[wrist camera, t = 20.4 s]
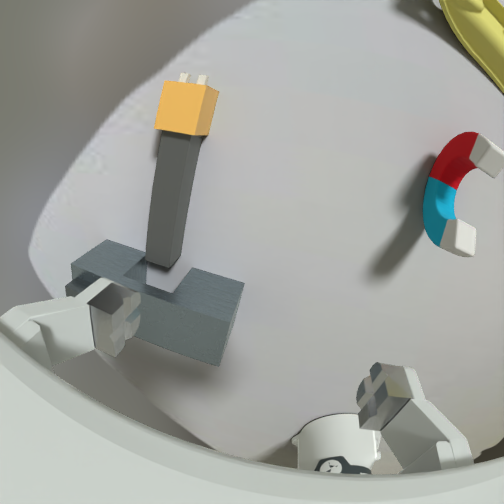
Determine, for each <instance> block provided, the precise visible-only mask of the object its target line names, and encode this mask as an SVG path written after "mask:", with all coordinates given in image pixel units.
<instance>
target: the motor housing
mask: <svg viewBox="0 0 504 504" xmlns="http://www.w3.org/2000/svg"><path fill="white" fill-rule="evenodd" d="M145 255H146V252H143V251H140V250H137V249H134V248H131V247H128V246H125V245H122V244H119V243H116V242H113V241H110V240H105V241H104V242H102V243H101V244H99V245H98V246H96V247H95V248H93V249H92V250H90V251H89V252H87V253H86V254H84V255H83V256H81V257H80V258H78V259H77V260H76V261H74V262H73V263H71V270H72V281H71V282H70V283H69V284H67V285H66V286H65V289H66V296H67V297H69V296H72V297H76V296H77V295H78V294H80V293H81V292H82V291H84V290H85V289H86V288H87V287H89V286H90V285H91V284H93V283H94V282H95V281H97V280H98V279H99V278H107V279H109V280H111V281H114V282H116V283H118V284H121V285H123V286H125V287H128V288H130V289H132V290H135V291H137V292H139V294H140V295H141V303H140V304H139V305H138V306H137V308H138V310H139V312H140V323H139V326H138V329H137V331H136V333H135V334H134V336H135V337H137V338H140V339H142V340H145V341H147V342H150V343H152V344H155V345H157V346H160V347H163V348H165V349H168V350H171V351H173V352H176V353H179V354H182V355H185V356H188V357H190V358H193V359H196V360H199V361H202V362H205V363H209V364H212V365H215V366H218V367H219V365H220V362H221V359H222V356H223V354H224V351H225V348H226V345H227V342H228V339H229V336H230V333H231V330H232V328H233V324H234V321H235V317H236V313H237V310H238V306H239V302H240V299H241V295H242V291H243V287H244V284H245V283H242V282H239V281H235V280H232V279H229V278H225V277H222V276H219V275H215V274H212V273H209V272H206V271H202V270H199V269H196V268H193V267H192V269H191V270H190V271H189V273H188V274H187V275H186V277H185V278H184V279H183V281H182V282H181V283H180V285H179V286H178V287H177V289H176V290H175V291H174V293H173V294H172V293H169V292H167V291H164V290H161V289H158V288H155V287H152V286H149V285H147V284H146V272H147V260H145Z"/></svg>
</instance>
